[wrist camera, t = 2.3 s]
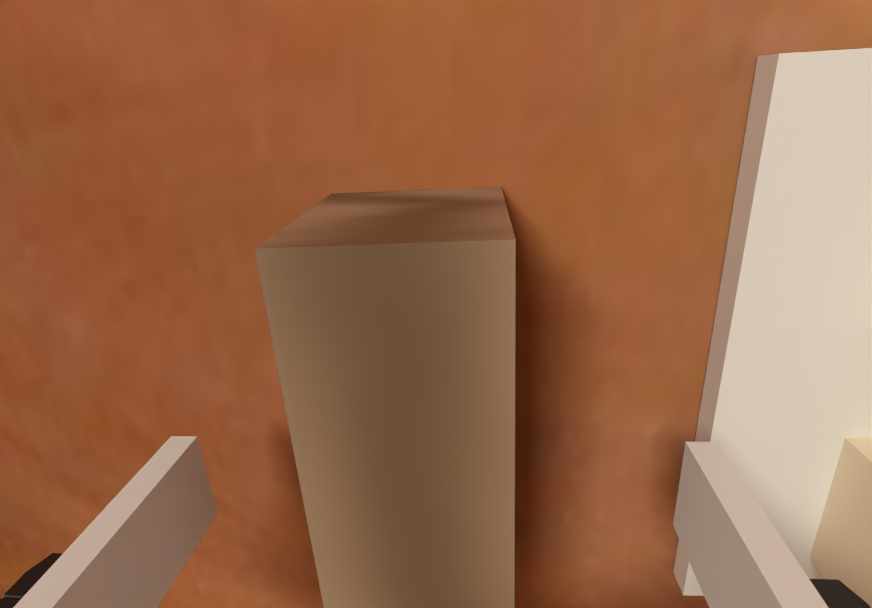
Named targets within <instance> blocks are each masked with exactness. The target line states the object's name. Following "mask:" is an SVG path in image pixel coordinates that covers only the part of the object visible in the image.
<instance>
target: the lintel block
mask: <svg viewBox="0 0 872 608" xmlns="http://www.w3.org/2000/svg"><path fill="white" fill-rule="evenodd" d="M254 250H255V255H256V260H257V265H258V271H259V276H260V281H261V286H262V291H263V296H264V302H265V307H266V312H267V317H268V322H269V327H270V333H271V338H272V343H273V348H274V353H275V358H276V364H277V369H278V374H279V379H280V384H281V389H282V395H283V400H284V405H285V410H286V415H287V420H288V426H289V431H290V436H291V441H292V446H293V451H294V457H295V462H296V467H297V472H298V477H299V482H300V488H301V493H302V498H303V503H304V508H305V513H306V519H307V524H308V529H309V534H310V539H311V544H312V550H313V555H314V560H315V565H316V570H317V575H318V581H319V586H320V591H321V596H322V601H323V606H324V608H515V295H516V239H515V235H514V232H513V228H512V224H511V220H510V217H509V213H508V209H507V206H506V202H505V198H504V195H503V191H502V187H501V186H500V187H477V188H454V189H431V190H408V191H385V192H362V193H339V194H331V195H329V196H328V197H327V198H325V199H324V200H322V201H321V202H319V203H318V204H317V205H315V206H314V207H312V208H311V209H310V210H308V211H307V212H305V213H304V214H302V215H301V216H300V217H298V218H297V219H295V220H294V221H293V222H291V223H290V224H288V225H287V226H285V227H284V228H283V229H281V230H280V231H278V232H277V233H276V234H274V235H273V236H271V237H270V238H269V239H267V240H266V241H264V242H263V243H261V244H260V245H259V246H257V247H256V248H254Z"/></svg>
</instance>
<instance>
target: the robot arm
mask: <svg viewBox="0 0 872 608" xmlns="http://www.w3.org/2000/svg"><path fill="white" fill-rule="evenodd" d="M216 515H217V510H216V506H215V502H214V498H213V495H212V491H211V487H210V483H209V480H208V476H207V472H206V468H205V465H204V461H203V457H202V453H201V450H200V446H199V442H198V438H197V437H194V436H171V437H170V438H169V439H168V440H167V441H166V442H165V444H164V445H163V446H162V447H161V448H160V449H159V450H158V451H157V452H156V453H155V454H154V456H153V457H152V458H151V459H150V460H149V461H148V462H147V463H146V464H145V465H144V466H143V467H142V469H141V470H140V471H139V472H138V473H137V474H136V475H135V476H134V477H133V478H132V479H131V480H130V482H129V483H128V484H127V485H126V486H125V487H124V488H123V489H122V490H121V491H120V492H119V493H118V495H117V496H116V497H115V498H114V499H113V500H112V501H111V502H110V503H109V504H108V505H107V506H106V508H105V509H104V510H103V511H102V512H101V513H100V514H99V515H98V516H97V517H96V518H95V519H94V521H93V522H92V523H91V524H90V525H89V526H88V527H87V528H86V529H85V530H84V531H83V532H82V534H81V535H80V536H79V537H78V538H77V539H76V540H75V541H74V542H73V543H72V544H71V545H70V547H69V548H68V549H67V550H66V551H65V552H64V553H63V554H58V553H52V554H51V555H50V556H48V557H47V558H45V559H44V560H43V561H41V562H40V563H38V564H37V565H35V566H34V567H33V568H31V569H30V570H28V571H27V572H26V573H25V574H24V575H23V576H22V577H21V578H20V579H19V580H18V581H17V582H16V583H15V584H14V585H13V586H12V587H11V588H10V589H9V590H8V591H7V592H6V593H5V596H4V598H3V599H0V608H157V607H158V605H159V604H160V602H161V600H162V599H163V597H164V596H165V594H166V593H167V591H168V590H169V588H170V586H171V585H172V583H173V582H174V580H175V579H176V577H177V575H178V574H179V572H180V571H181V569H182V568H183V566H184V565H185V563H186V561H187V560H188V558H189V557H190V555H191V554H192V552H193V551H194V549H195V547H196V546H197V544H198V543H199V541H200V540H201V538H202V536H203V535H204V533H205V532H206V530H207V529H208V527H209V526H210V524H211V522H212V521H213V519H214V518H215V516H216ZM673 526H674V529H675V531H676V533H677V535H678V538H679V540H680V542H681V545H682V547H683V549H684V551H685V554H686V556H687V558H688V561H689V563H690V565H691V567H692V570H693V572H694V574H695V576H696V579H697V581H698V583H699V586H700V588H701V590H702V592H703V595H704V597H705V599H706V602H707V604H708V606H709V608H871V607H870V606H869V605H868V604H867V603H866V602H865V601H864V600H863V599H861V598H860V597H859V596H858V595H857V594H855V593H854V592H853V591H852V590H851V589H849V588H848V587H847V586H846V585H845V584H843V583H842V582H841V581H840V580H835V579H809V578H808V576H807V575H806V573H805V572H804V570H803V569H802V568H801V566H800V565H799V563H798V562H797V560H796V559H795V557H794V556H793V554H792V553H791V551H790V550H789V548H788V547H787V545H786V544H785V542H784V541H783V539H782V538H781V536H780V535H779V533H778V532H777V530H776V529H775V527H774V526H773V524H772V523H771V521H770V520H769V518H768V517H767V515H766V514H765V512H764V511H763V509H762V508H761V506H760V505H759V504H758V502H757V501H756V499H755V498H754V496H753V495H752V493H751V492H750V490H749V489H748V487H747V486H746V484H745V483H744V481H743V480H742V478H741V477H740V475H739V474H738V472H737V471H736V469H735V468H734V466H733V465H732V463H731V462H730V460H729V459H728V457H727V456H726V454H725V453H724V451H723V450H722V448H721V447H720V445H719V444H718V442H685V449H684V456H683V462H682V469H681V475H680V482H679V489H678V495H677V502H676V508H675V515H674V522H673Z"/></svg>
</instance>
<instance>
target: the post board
mask: <svg viewBox="0 0 872 608" xmlns="http://www.w3.org/2000/svg"><path fill="white" fill-rule="evenodd" d="M695 442H718V444H719V445H720V447H721V448H722V450H723V451H724V453H725V454H726V456H727V457H728V459H729V460H730V462H731V463H732V465H733V466H734V468H735V469H736V471H737V472H738V474H739V475H740V477H741V478H742V480H743V481H744V483H745V484H746V486H747V487H748V489H749V490H750V492H751V493H752V495H753V496H754V498H755V499H756V501H757V502H758V504H759V505H760V506H761V508H762V509H763V511H764V512H765V514H766V515H767V517H768V518H769V520H770V521H771V523H772V524H773V526H774V527H775V529H776V530H777V532H778V533H779V535H780V536H781V538H782V539H783V541H784V542H785V544H786V545H787V547H788V548H789V550H790V551H791V553H792V554H793V556H794V557H795V559H796V560H797V562H798V563H799V565H800V566H801V568H802V569H803V570H804V572H805V573H806V575H807V576H808V578H809V579H835V580H840V581H841V582H842V583H843V584H845V585H846V586H847V587H848V588H849V589H851V590H852V591H853V592H854V593H855V594H857V595H858V596H859V597H860V598H861V599H863V600H864V601H865V602H866V603H867V604H868V605H869V606H870V607H871V608H872V48H865V49H849V50H832V51H815V52H799V53H782V54H773V55H765V56H758V58H757V64H756V70H755V76H754V82H753V88H752V95H751V101H750V107H749V113H748V119H747V125H746V131H745V137H744V143H743V149H742V156H741V162H740V168H739V174H738V180H737V186H736V192H735V198H734V204H733V211H732V217H731V223H730V229H729V235H728V241H727V247H726V253H725V259H724V266H723V272H722V278H721V284H720V290H719V296H718V302H717V308H716V314H715V321H714V327H713V333H712V339H711V345H710V351H709V357H708V363H707V369H706V375H705V382H704V388H703V394H702V400H701V406H700V412H699V418H698V424H697V430H696V437H695ZM673 572H674V575H675V577H676V580H677V582H678V585H679V587H680V589H681V592H682V594H683V595H691V596H704V595H703V592H702V590H701V588H700V586H699V583H698V581H697V579H696V576H695V574H694V572H693V570H692V567H691V565H690V563H689V561H688V558H687V556H686V554H685V551H684V549H683V547H682V545H681V542H680V540H678V547H677V553H676V559H675V565H674V571H673Z"/></svg>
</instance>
